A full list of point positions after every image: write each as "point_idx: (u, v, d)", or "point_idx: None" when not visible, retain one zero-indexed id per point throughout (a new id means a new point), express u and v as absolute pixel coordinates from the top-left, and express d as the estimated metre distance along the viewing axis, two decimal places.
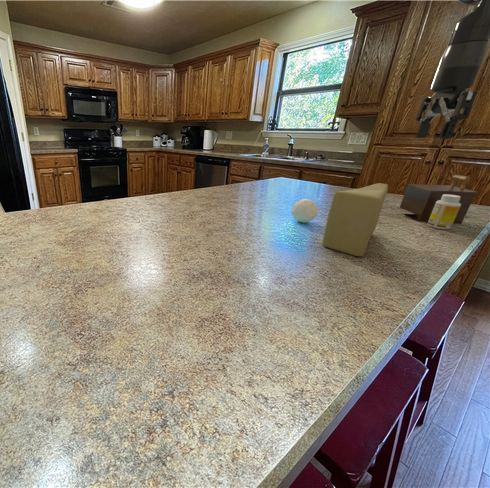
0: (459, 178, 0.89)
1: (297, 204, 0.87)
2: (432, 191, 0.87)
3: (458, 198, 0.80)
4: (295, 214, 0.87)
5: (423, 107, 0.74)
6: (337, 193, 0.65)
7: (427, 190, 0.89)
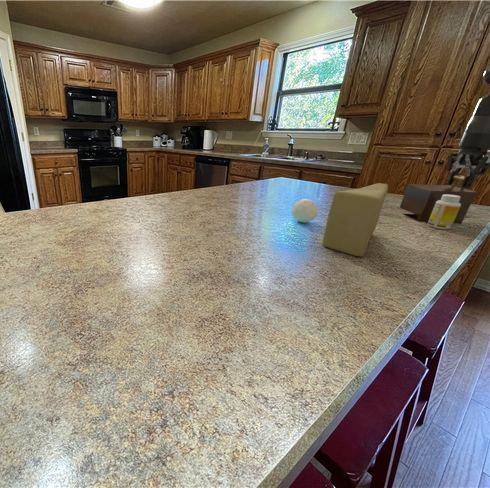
0: (459, 178, 0.89)
1: (297, 204, 0.87)
2: (432, 191, 0.87)
3: (458, 198, 0.80)
4: (295, 214, 0.87)
5: (451, 160, 0.92)
6: (337, 193, 0.65)
7: (427, 190, 0.89)
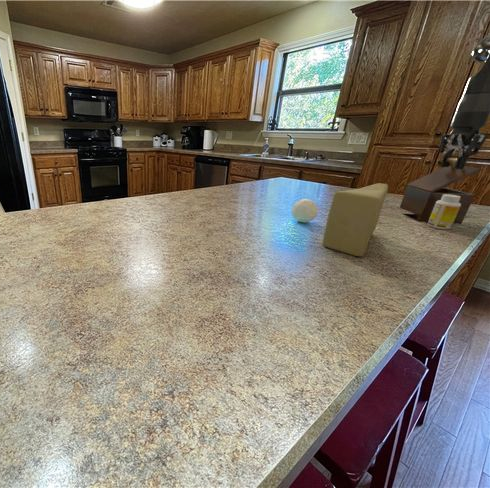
0: (453, 161, 0.87)
1: (297, 204, 0.87)
2: (432, 190, 0.87)
3: (458, 198, 0.80)
4: (295, 214, 0.87)
5: (444, 141, 0.90)
6: (337, 193, 0.65)
7: (427, 190, 0.89)
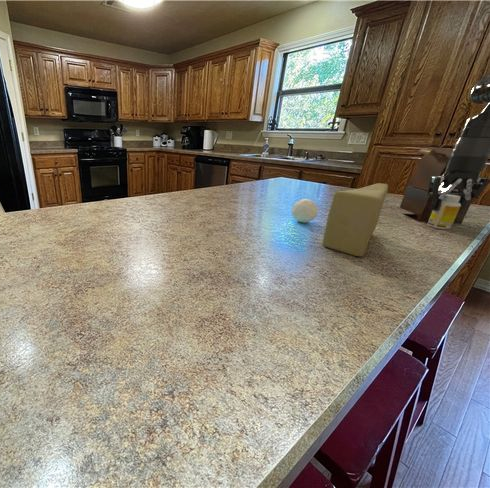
0: (426, 154, 0.88)
1: (297, 204, 0.87)
2: None
3: (458, 198, 0.80)
4: (295, 214, 0.87)
5: (473, 185, 0.81)
6: (337, 193, 0.65)
7: (427, 190, 0.89)
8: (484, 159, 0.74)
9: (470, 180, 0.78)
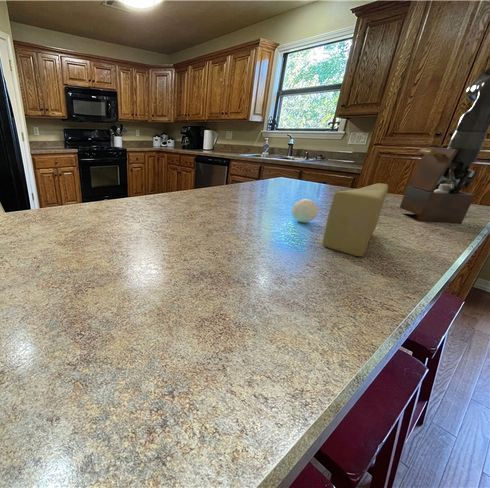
0: (426, 154, 0.88)
1: (297, 204, 0.87)
2: (431, 190, 0.87)
3: None
4: (295, 214, 0.87)
5: None
6: (337, 193, 0.65)
7: (427, 190, 0.89)
8: None
9: None
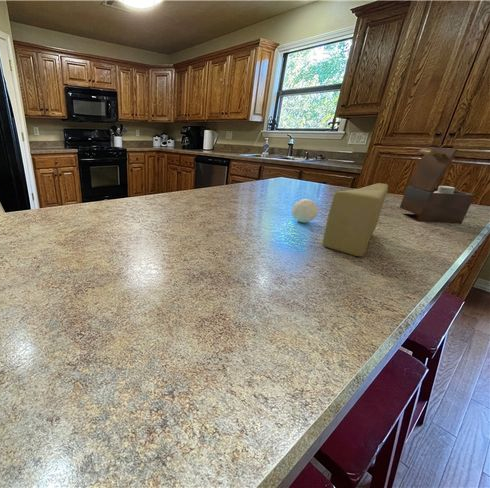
0: (426, 154, 0.88)
1: (297, 204, 0.87)
2: (431, 190, 0.87)
3: None
4: (295, 214, 0.87)
5: None
6: (337, 193, 0.65)
7: (427, 190, 0.89)
8: None
9: None
